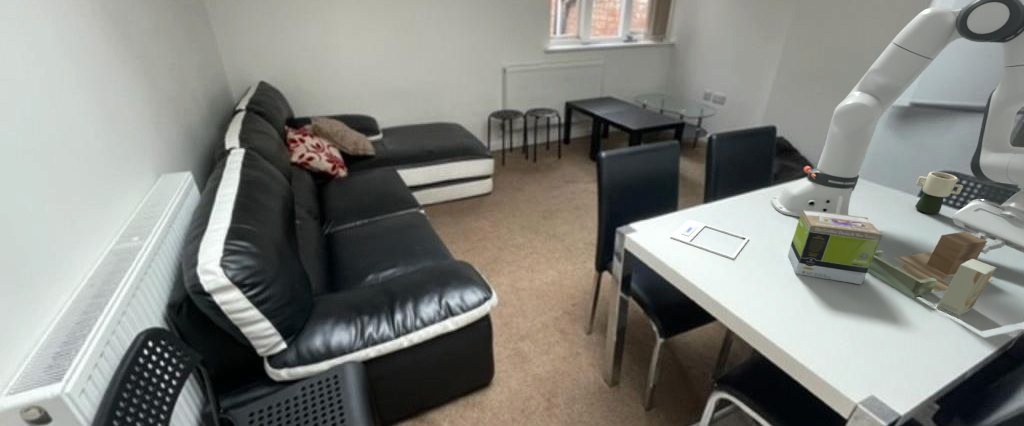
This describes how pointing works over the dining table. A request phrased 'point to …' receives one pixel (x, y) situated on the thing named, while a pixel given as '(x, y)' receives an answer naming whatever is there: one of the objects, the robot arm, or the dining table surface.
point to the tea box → (833, 246)
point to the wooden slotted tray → (910, 274)
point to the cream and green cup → (936, 191)
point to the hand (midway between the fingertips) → (977, 249)
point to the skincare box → (966, 287)
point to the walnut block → (955, 251)
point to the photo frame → (694, 228)
